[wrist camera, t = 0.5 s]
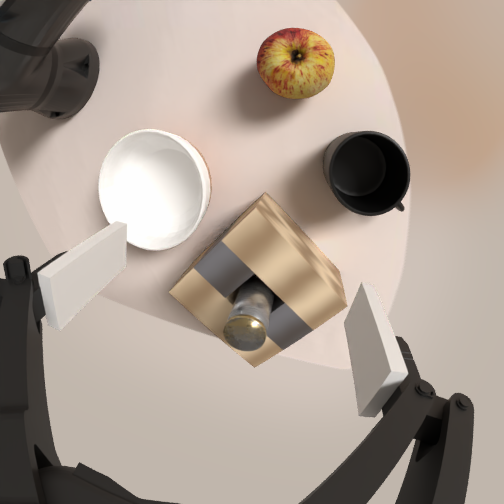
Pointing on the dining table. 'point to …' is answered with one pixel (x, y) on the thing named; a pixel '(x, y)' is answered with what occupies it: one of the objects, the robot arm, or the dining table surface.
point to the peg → (249, 316)
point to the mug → (367, 172)
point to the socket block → (264, 278)
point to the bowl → (155, 188)
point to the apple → (296, 63)
